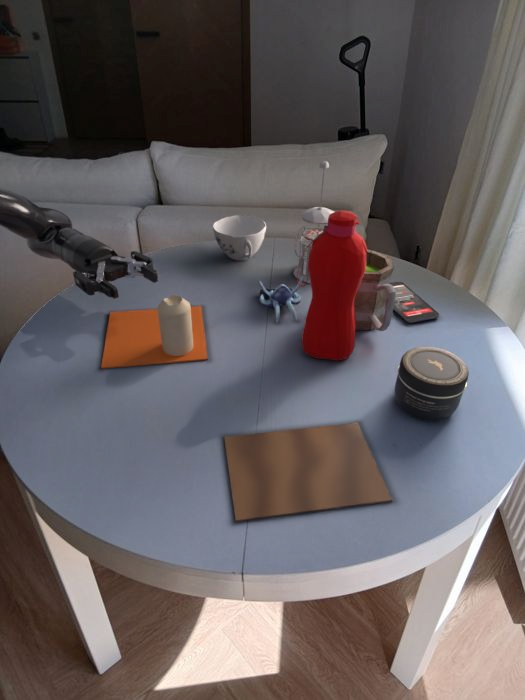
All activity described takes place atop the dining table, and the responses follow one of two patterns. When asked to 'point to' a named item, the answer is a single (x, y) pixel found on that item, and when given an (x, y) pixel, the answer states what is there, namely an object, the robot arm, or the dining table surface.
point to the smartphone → (411, 304)
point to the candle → (175, 326)
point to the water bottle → (334, 288)
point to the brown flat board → (302, 471)
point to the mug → (375, 294)
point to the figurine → (280, 298)
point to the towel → (146, 339)
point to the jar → (430, 383)
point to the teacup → (239, 235)
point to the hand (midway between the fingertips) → (136, 285)
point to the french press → (311, 232)
